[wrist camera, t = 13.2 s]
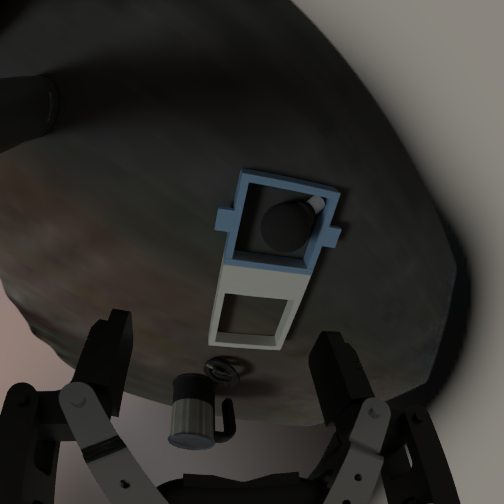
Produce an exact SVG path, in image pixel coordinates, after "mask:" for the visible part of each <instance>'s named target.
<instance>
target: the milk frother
mask: <svg viewBox="0 0 504 504" xmlns="http://www.w3.org/2000/svg"><path fill="white" fill-rule="evenodd" d="M209 367H210V368H211V369H212V370H213V372H211V371H210V368H209ZM204 372H205V373H206V374H207V376H208V377H209V378H211V379H212V380H214V381H215V382H212V381H211V380H210V379H209V378H207V377H205V376H201V375H196V374H185V375H181V376H178V377H177V378H175V379H174V381H173V387H174V392H173V406H172V418H171V431H170V436H169V437H168V441H169V443H170V444H172V445H173V446H176V447H178V448H183V449H188V450H205V449H210V448H212V447H213V446H215V443H223V442H226V441H228V440H229V439H231V438H232V437H233V435H234V434H235V432H236V424H235V415H234V409H233V403H232V400H231V399H229V398H226V399H225V400H224V401H223V402H222V413H223V424H224V432H218V431H215V393H213V390H214V384H218V385H222V386H235V385H237V384H238V383H239V380H240V378H239V375H238V373H237V372H236V370H235V369H234V368H233V367H232V366H231V365H229V364H228V363H226V362H224V361H222V360H217V359H211V360H209V361H207V362H206V363H205V366H204ZM214 372H216V373H218V374H222V375H228V376H229V377H230V376H231V377H232V379H231V380H222V379H220V378H218V377H216V376H215V375H214V374H212V373H214Z"/></svg>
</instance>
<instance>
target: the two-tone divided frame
mask: <svg viewBox="0 0 504 504" xmlns="http://www.w3.org/2000/svg"><path fill="white" fill-rule="evenodd" d="M249 182H250V183H256V184H261V185H267V186H272V187H277V188H283V189H288V190H293V191H297V192H302V193H307V194H312V195H316V196H321V197H324V199H323V200H324V202H325V205H326V206H325V207H324V208H323V209H322V210H320V211H319V214H318V217H317V220H316V223H315V226H314V229H313V232H312V235H311V238H310V241H309V244H308V247H307V250H306V252H305V255H304V258H303V259H296V258H289V257H281V256H274V255H267V254H259V253H252V252H245V251H238V250H234V248H235V243H236V238H237V234H238V229H239V225H240V220H241V216H242V211H243V207H244V202H245V198H246V193H247V189H248V184H249ZM340 194H341V193H340V192H339V191H338V190H336V189H335V188H334V187H331V186H327V185H323V184H318V183H314V182H310V181H305V180H301V179H296V178H291V177H287V176H282V175H277V174H272V173H267V172H261V171H256V170H251V169H245V168H241V171H240V176H239V180H238V185H237V190H236V194H235V199H234V204H233V208H228V207H221V206H219V207H218V212H217V218H216V223H215V230H219V231H226V232H228V233H227V238H226V244H225V249H224V254H223V259H222V264H221V269H220V275H219V280H218V285H217V291H216V296H215V301H214V307H213V312H212V318H211V324H210V329H209V343H208V345H214V346H225V347H237V348H251V349H268V350H280V349H281V347H282V345H283V343H284V340H285V338H286V336H287V333H288V331H289V329H290V326H291V324H292V321H293V319H294V317H295V314H296V312H297V309H298V307H299V305H300V302H301V300H302V297H303V295H304V292H305V290H306V287H307V285H308V282H309V280H310V277H311V275H312V273H313V269H314V267H315V264H316V261H317V259H318V256H319V253H320V251H321V248H322V246H325V247H331V248H335V246H336V243H337V241H338V238H339V235H340V233H341V230H342V229H341V228H340V227H337V226H332V225H330V223H331V220H332V217H333V214H334V212H335V209H336V206H337V203H338V200H339V197H340ZM225 293H229V294H238V295H247V296H256V297H266V298H276V299H287V300H288V302H287V305H286V307H285V310H284V313H283V315H282V318H281V321H280V323H279V326H278V328H277V331H276V333H275V336H262V335H249V334H236V333H225V332H217V329H218V324H219V319H220V314H221V309H222V305H223V300H224V295H225Z"/></svg>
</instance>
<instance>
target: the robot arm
mask: <svg viewBox="0 0 504 504" xmlns="http://www.w3.org/2000/svg"><path fill="white" fill-rule="evenodd" d="M58 107H59V97H58V92H57V89H56V86H55V85H54V83H53V82H52V81H51V80H50V79H49V78H47V77H45V76H20V77H8V78H0V154H1V153H3V152H5V151H7V150H9V149H12V148H14V147H16V146H18V145H21V144H23V143H26V142H28V141H31V140H33V139H36V138H38V137H40V136H42V135H44V134H45V133H46V132H47V131H48V130H49V129H50V127H51V126H52V125H53V123H54V121H55V118H56V115H57V112H58ZM132 348H133V329H132V316H131V312H130V311H124V310H118V309H112V311H111V314H110V316H109V319H108V321H106V320H101V319H99V320H98V321H97V322H96V323H95V324H94V325H93V326H92V327H91V329H90V332H89V335H88V337H87V340H86V342H85V345H84V348H83V350H82V353H81V356H80V359H79V362H78V364H77V367H76V370H75V373H74V377H73V379H72V381H71V382H70V383H69V384H67V385H65V386H64V387H63V388H62V389H61V390H57V391H36V390H35V389H34V387H33V386H31V385H30V384H28V383H17V384H14V385H13V386H12V387H11V388H10V389H9V391H8V392H7V395H6V398H5V401H4V404H3V408H2V411H1V415H0V504H54V494H55V481H56V471H57V463H58V455H59V448H60V441H77V443H78V445H79V447H80V449H81V451H82V453H83V457H84V460H85V462H86V464H87V465H88V467H89V469H90V471H91V472H92V474H93V476H94V478H95V479H96V481H97V482H98V484H99V486H100V487H101V489H102V490H103V492H104V494H105V495H106V497H107V498H108V500H109V501H110V502H111V504H368V502H369V499H370V497H371V495H372V492H373V489H374V487H375V484H376V482H377V479H378V476H379V473H380V472H381V476H382V480H383V484H384V488H385V492H386V497H387V501H388V504H460V500H459V497H458V494H457V490H456V487H455V484H454V481H453V478H452V474H451V472H450V469H449V466H448V463H447V460H446V457H445V454H444V451H443V449H442V446H441V443H440V441H439V438H438V435H437V433H436V430H435V428H434V425H433V423H432V420H431V418H430V415H429V413H428V412H427V410H426V409H425V408H423V407H422V406H420V405H411V406H410V407H409V408H407V409H406V410H405V411H401V410H396V409H390V408H389V407H388V405H387V404H386V403H385V402H384V401H383V400H381V399H379V398H375V396H374V393H373V391H372V389H371V386H370V384H369V381H368V379H367V377H366V374H365V372H364V370H363V367H362V365H361V363H360V360H359V358H358V356H357V353H356V351H355V350H354V349H353V348H352V347H351V346H350V345H349V343H345V342H344V340H343V338H342V335H341V333H340V332H332V331H323V332H321V333H320V335H319V337H318V339H317V341H316V343H315V345H314V347H313V348H312V350H311V352H310V355H309V368H310V371H311V375H312V378H313V382H314V385H315V389H316V392H317V396H318V399H319V403H320V407H321V410H322V414H323V417H324V421H325V424H326V427H328V426H336V431H335V432H334V434H333V436H332V438H331V441H330V443H329V444H328V446H327V448H326V451H325V452H324V455H323V457H322V458H321V460H320V462H319V464H318V465H317V467H316V468H315V469H314V470H313V472H312V473H311V474H310V476H309V477H308V478H307V479H305V478H301V477H299V472H292V473H281V474H271V475H268V476H264V477H261V478H257V479H254V480H250V481H247V482H240V481H235V480H230V479H226V478H222V477H218V476H214V475H197V474H183V478H182V479H175V480H172V481H168V482H166V483H163V484H161V485H159V486H158V487H155V486H154V484H153V483H152V482H151V480H150V479H149V478H148V477H147V475H146V474H145V473H144V471H143V470H142V468H141V467H140V465H139V464H138V463H137V461H136V460H135V458H134V457H133V455H132V454H131V452H130V451H129V449H128V448H127V446H126V445H125V443H124V442H123V441H122V439H121V438H120V437H119V435H118V434H117V432H116V431H115V429H114V427H113V425H112V424H111V422H110V419H111V416H115V417H119V411H120V406H121V400H122V395H123V390H124V385H125V380H126V376H127V371H128V367H129V362H130V358H131V353H132ZM406 444H407V447H408V450H409V453H410V456H411V459H412V468H411V466H410V463H409V460H408V457H407V454H406V450H405V447H404V446H405V445H406Z"/></svg>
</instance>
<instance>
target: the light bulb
mask: <svg viewBox="0 0 504 504" xmlns="http://www.w3.org/2000/svg"><path fill="white" fill-rule="evenodd" d="M325 206H326V205H325V202H324V200H323V198H321V197H320V196H316V195H314V196H313V197H312V198H310V199H309V200H307V201H306V202H305V203H302V202H296V203H295V204H291V203H280V204H277V205H275V206H273V207H271V208H270V209H269V210H268V211H267V212H266V213H265V214H264V216H263V219H262V221H261V234H262V237H263V239H264V241H265V242H266V244H267V245H268V246H269V247H271V248H272V249H274V250H276V251H278V252H283V253H288V252H293V251H296V250H298V249H299V248H301V247H302V246H303V245H304V244H305V243H306V241H307V240H308V237H309V235H310V225H312V224H313V223H314V215H315V214H317V213H318V212H319V211H320V210H322V209H323V208H324V207H325Z"/></svg>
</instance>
